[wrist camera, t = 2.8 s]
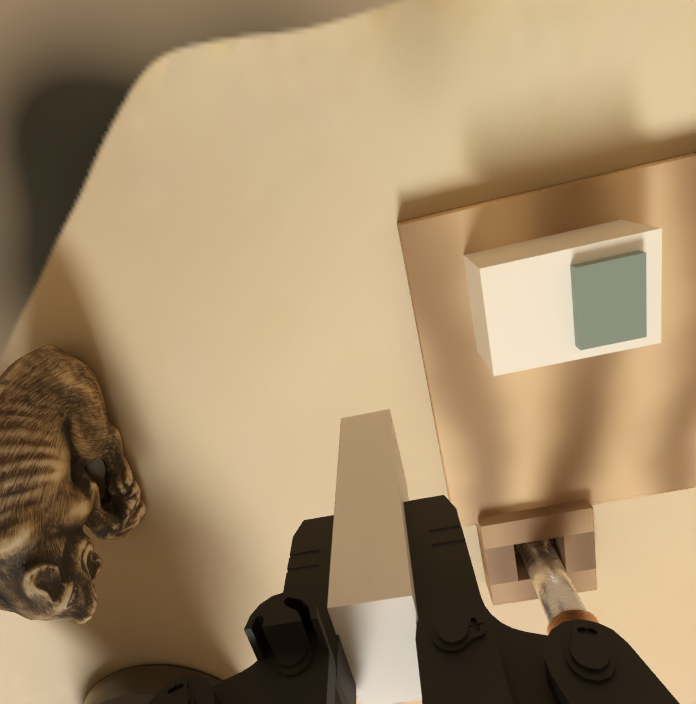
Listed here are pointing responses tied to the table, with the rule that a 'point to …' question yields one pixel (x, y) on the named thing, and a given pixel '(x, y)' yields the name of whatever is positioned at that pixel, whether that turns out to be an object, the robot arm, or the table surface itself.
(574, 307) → the block
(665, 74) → the table surface
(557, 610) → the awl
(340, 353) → the table surface
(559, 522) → the tool rest
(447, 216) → the plywood panel
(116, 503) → the figurine
